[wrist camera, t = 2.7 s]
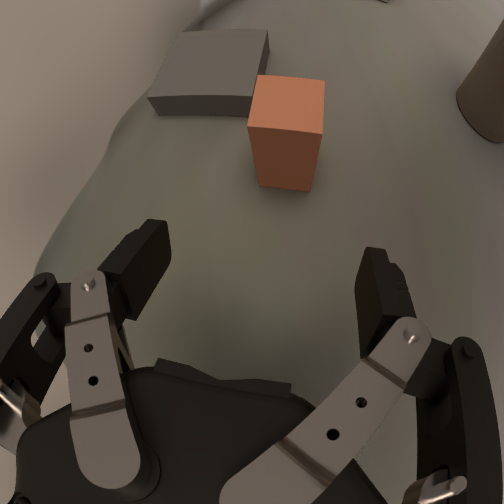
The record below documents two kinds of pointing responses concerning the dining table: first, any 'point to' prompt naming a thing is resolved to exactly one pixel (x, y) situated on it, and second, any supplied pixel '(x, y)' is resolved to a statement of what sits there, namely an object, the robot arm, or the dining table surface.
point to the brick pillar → (286, 130)
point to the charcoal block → (210, 73)
